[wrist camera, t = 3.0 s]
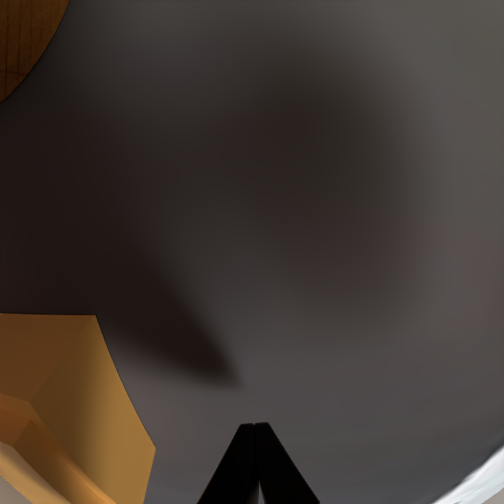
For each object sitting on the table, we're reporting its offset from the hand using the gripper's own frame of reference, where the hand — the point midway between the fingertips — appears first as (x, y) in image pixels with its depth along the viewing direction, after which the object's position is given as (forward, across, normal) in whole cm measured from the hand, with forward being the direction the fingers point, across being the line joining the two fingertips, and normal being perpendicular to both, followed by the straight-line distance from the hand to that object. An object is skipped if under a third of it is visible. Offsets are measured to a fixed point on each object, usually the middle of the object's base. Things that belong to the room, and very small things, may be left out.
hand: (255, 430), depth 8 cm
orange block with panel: (+2, +9, 0) cm, 9 cm away
